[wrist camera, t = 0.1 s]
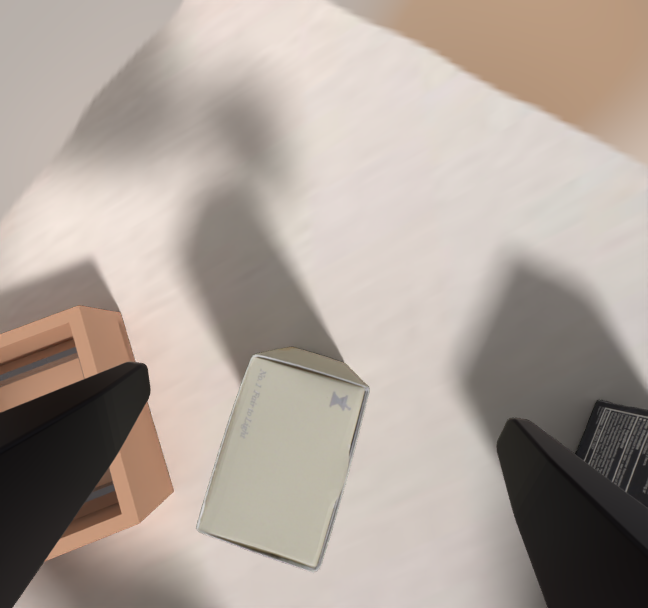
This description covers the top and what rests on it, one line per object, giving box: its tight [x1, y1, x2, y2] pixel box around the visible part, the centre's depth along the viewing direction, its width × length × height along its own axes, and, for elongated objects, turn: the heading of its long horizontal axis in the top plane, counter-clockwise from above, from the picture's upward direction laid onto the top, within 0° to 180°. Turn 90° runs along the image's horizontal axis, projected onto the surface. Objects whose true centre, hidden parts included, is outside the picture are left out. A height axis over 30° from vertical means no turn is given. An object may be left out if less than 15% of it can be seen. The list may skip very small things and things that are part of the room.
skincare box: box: [196, 347, 370, 572], centre depth 17 cm, size 6×4×12 cm
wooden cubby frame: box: [0, 305, 174, 562], centre depth 20 cm, size 13×13×4 cm
